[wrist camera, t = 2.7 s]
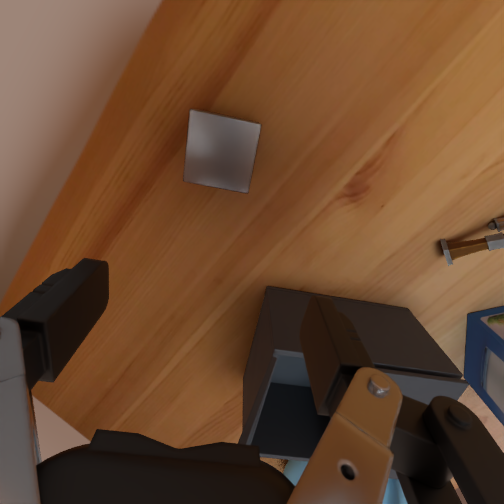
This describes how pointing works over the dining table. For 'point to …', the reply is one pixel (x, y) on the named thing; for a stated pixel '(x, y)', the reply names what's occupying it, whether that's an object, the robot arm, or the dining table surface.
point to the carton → (296, 376)
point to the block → (220, 150)
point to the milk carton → (486, 357)
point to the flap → (257, 405)
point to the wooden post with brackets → (475, 243)
